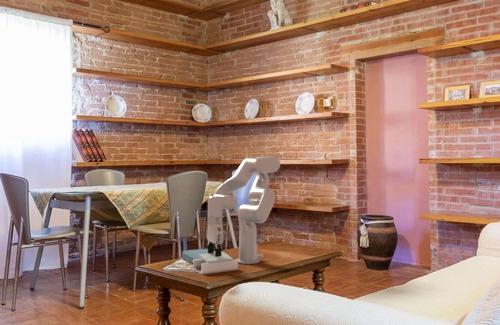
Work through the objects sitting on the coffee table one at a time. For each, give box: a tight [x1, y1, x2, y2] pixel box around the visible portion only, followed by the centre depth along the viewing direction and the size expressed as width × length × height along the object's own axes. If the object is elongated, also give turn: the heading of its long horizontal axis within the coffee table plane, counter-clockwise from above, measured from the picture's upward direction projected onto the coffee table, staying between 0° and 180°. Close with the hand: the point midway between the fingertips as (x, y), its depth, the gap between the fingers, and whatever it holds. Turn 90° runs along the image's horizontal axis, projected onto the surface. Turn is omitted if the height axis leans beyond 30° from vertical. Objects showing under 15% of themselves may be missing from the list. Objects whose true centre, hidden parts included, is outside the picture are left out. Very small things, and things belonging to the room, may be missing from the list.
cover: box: [199, 251, 234, 263], centre depth 241 cm, size 14×11×1 cm
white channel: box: [192, 259, 239, 275], centre depth 241 cm, size 20×11×5 cm, turn 122°
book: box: [181, 248, 215, 264], centre depth 259 cm, size 23×16×5 cm
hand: (214, 254), depth 242 cm, fingers open, 8 cm apart
